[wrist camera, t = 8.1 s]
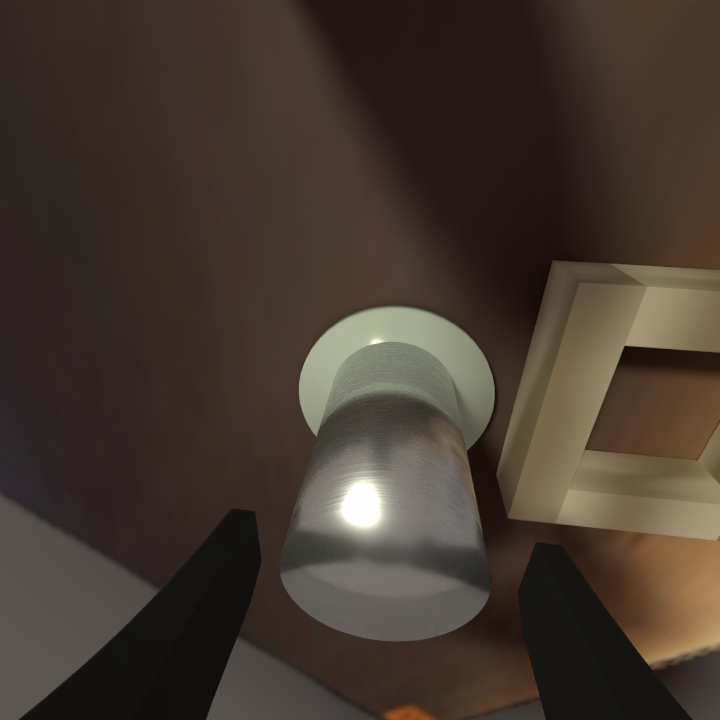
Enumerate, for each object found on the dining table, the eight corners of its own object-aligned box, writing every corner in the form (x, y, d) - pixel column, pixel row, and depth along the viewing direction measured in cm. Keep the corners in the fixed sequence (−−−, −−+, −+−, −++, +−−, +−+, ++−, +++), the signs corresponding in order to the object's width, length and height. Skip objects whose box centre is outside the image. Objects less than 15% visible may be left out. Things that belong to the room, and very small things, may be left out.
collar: (866, 278, 13) (955, 306, 11) (724, 496, 18) (767, 545, 16) (552, 260, 14) (579, 282, 12) (496, 474, 19) (507, 518, 17)
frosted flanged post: (464, 347, 15) (513, 521, 8) (444, 450, 18) (470, 652, 11) (333, 336, 16) (273, 494, 9) (331, 438, 18) (283, 627, 11)
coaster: (510, 312, 15) (514, 318, 15) (474, 472, 19) (475, 481, 18) (299, 297, 16) (295, 303, 15) (305, 455, 20) (302, 464, 19)
